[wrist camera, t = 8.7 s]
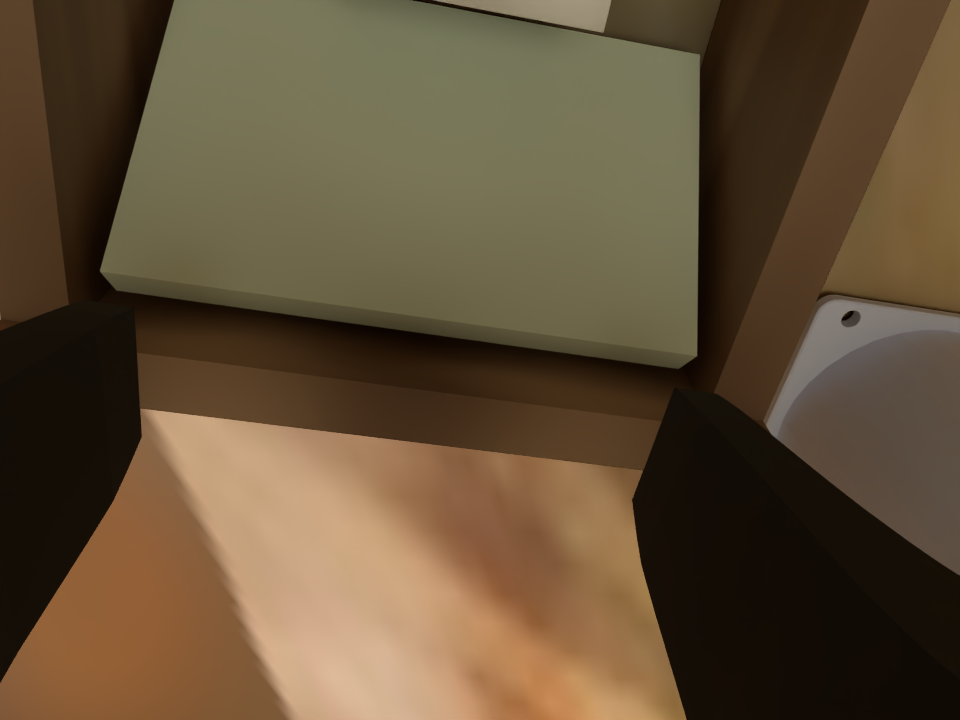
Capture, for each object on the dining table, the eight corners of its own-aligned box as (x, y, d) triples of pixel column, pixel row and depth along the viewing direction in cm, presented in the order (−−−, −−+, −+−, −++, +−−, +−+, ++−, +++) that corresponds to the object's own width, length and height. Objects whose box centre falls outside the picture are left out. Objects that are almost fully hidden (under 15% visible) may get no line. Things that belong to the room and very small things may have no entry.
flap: (683, 81, 17) (699, 54, 16) (678, 368, 15) (697, 356, 14) (196, -9, 16) (185, -43, 15) (116, 290, 14) (99, 271, 13)
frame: (894, -354, 14) (1235, -573, 8) (666, 322, 21) (750, 483, 15) (90, -563, 12) (-269, -1040, 6) (140, 246, 19) (-4, 390, 13)
